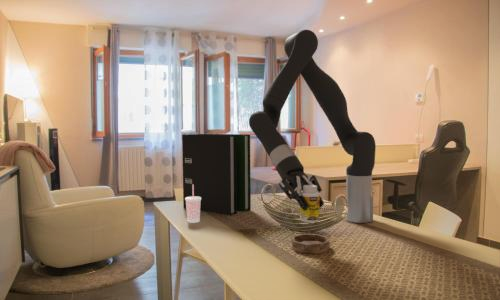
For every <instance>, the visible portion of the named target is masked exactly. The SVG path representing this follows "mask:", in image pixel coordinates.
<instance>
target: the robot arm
mask: <svg viewBox="0 0 500 300" xmlns="http://www.w3.org/2000/svg"><path fill="white" fill-rule="evenodd" d="M318 41H319V39H318V36H317V35H316V33H315V32H314V31H312V30H310V29H302V30H299V31H297V32H295V33H293V34H292V35H289V36H288V37H287V38H286V39H285V41H284V43H283V44H284V45H283V46H284V52H285V54H286V57H287V58H288V59H287V61H286V63H285V64H284V66H283V67H282V68H281V70H280V71H279V73H278V74H277V75H276V76H275V78H274V79H273V80H272V82H271V84H270V85H269V87H268V89H267V91H266V93H265V95H264V97H263V100H262V107H263V110H261V111H260V110H258V111H257V110H256V111H254V112H253V113H252V114H251V115H250V116H249V118H248V125H249V127H250V129H251V131H252V132H253V134H254V135H255V136H256V138H257V139H258V140H259V142H260V143H261V145H262V147H263V149H264V150H265V152H266V153H267V155H268V157H269V158H270V161H271V164H272V166H273V167H274V168H275V170H276V172H277V173H278V175H279V176H280V179H281V180H280V182H279V183H278V187H279V188H280V189H281V190H282V192H283V193H285V195H286V197H288V199H289V200H295V201H296V202H297V203H298V205H299V208H300V207H301V208H302V209H303V210H304V211H305V210H307V209H308V208H309V204H308V203H307V201H306V200H305V198H304V196H302V192H303V186H304V185H315V186H317V192H318V193H319V194H320V193H321V192H322V191H323V189H322V188H321V187H322V186H321V185H320V183H319V181H318V179H317V177H316V175H311V176H308V175H307V174H306V173H305V172H304V171H305V168H304V165H303V164H302V162H301V161H300V159H299V157H298V156H297V154H296V153H295V152H294V150H293V149H292V148H291V147H290V145H289V144H288V142H287V141H286V139H285V137H284V136H282V134H281V133H280V132H279V130H278V129H277V128H278V126H279V122H280V117H281V113H282V109H283V107H284V105H285V103H286V102H287V99H288V97H289V96H290V94H291V91H292V89H293V87H294V85H296V82H297V80H298V78H299V77H300V75H301V77H302V79H303V80H304V82H305V83H306V85H307V86H308V88H309V89H310V91H311V93H312V95H313V96H314V98H315V100H316V102H317V103H318V105H319V107H320V108H321V109H322V111H323V113H324V115H325V116H326V117H327V119H328V121H329V123H330V124H331V126H332V128H333V130H334V131H335V133H336V136H337V138H338V140H339V142H340V145H341V147H342V148H343V150H344V151H345V152H346V154H348V155H350V156H352V162H351V164H350V165H348V166H347V167H346V170H345V171H346V173H345V175H346V177H345V178H346V179H345V181H346V184H345V186H346V187H345V188H346V191H345V192H346V193H345V199H346V198H347V199H348V213H347V216H346V215H345V220H346V221H348V222H350V223H356V224H357V223H358V224H366V223H373V222H374V196H373V193H372V192H373V191H372V190H373V186H372V185H373V170H374V169H375V164H376V163H375V161H376V140H375V138H374V136H373V134H371V133H370V132H368V131H358V130H357V129H356V127H355V126H354V125H353V122H352V121H351V119H350V117H349V111H348V103H347V102H348V101H347V99H346V97H345V95H344V92H343V91H342V89H341V88H340V86H339V84H338V83H337V82H336V80H335V79H333V77H331V76H330V75H329V74H328V73H326V72H325V71H324V70H323V69H322V68H321V67H320V66H318V64H317V63H316V62H315V60H314V58H313V55H314V54H315V53H316V51H317V50H318V46H319V42H318ZM324 204H325V201H324V200H323V198H322V197H321V196H320V200H319V209H320V208H322V207H323V206H324Z"/></svg>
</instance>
